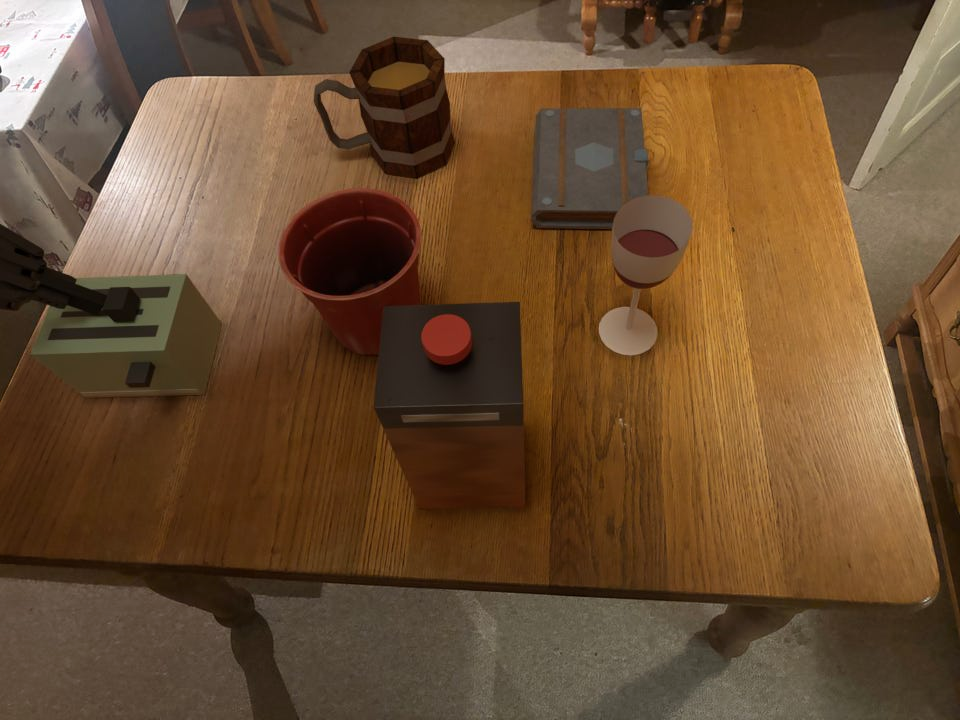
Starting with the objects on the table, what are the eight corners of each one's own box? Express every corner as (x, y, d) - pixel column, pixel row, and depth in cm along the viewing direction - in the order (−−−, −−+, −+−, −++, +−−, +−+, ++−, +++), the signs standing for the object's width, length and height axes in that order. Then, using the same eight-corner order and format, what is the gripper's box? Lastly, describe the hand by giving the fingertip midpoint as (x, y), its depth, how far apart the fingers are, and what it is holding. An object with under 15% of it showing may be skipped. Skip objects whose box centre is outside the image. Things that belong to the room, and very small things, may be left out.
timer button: (422, 365, 53) (420, 356, 52) (424, 324, 55) (422, 314, 54) (472, 364, 53) (470, 355, 52) (472, 322, 55) (471, 313, 54)
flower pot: (306, 371, 85) (264, 299, 72) (327, 270, 94) (292, 188, 80) (432, 372, 84) (413, 299, 70) (442, 270, 92) (427, 186, 79)
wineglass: (584, 340, 85) (597, 237, 68) (617, 294, 89) (638, 184, 71) (639, 369, 83) (668, 269, 65) (671, 320, 86) (706, 213, 69)
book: (535, 130, 106) (535, 103, 101) (640, 130, 104) (645, 103, 100) (530, 229, 95) (531, 205, 91) (647, 231, 94) (653, 206, 89)
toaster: (77, 417, 84) (20, 375, 75) (109, 327, 91) (60, 278, 82) (200, 414, 83) (157, 371, 74) (222, 323, 90) (186, 273, 81)
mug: (450, 114, 109) (439, 29, 96) (460, 172, 102) (450, 89, 89) (332, 131, 109) (306, 48, 96) (334, 190, 102) (305, 110, 89)
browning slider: (114, 322, 77) (101, 309, 75) (121, 300, 79) (109, 287, 77) (133, 321, 77) (122, 309, 75) (141, 299, 79) (129, 286, 77)
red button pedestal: (419, 510, 75) (373, 409, 53) (423, 429, 80) (383, 305, 58) (524, 508, 74) (523, 405, 52) (522, 426, 80) (519, 301, 57)
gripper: (-131, 184, 70) (108, 276, 83) (-196, 283, 63) (76, 365, 76) (-127, 142, 65) (127, 246, 78) (-196, 245, 58) (95, 339, 71)
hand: (102, 305), depth 77 cm, fingers closed
